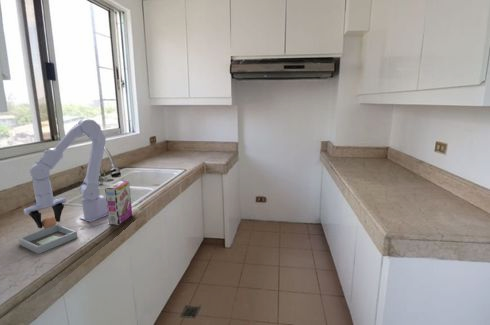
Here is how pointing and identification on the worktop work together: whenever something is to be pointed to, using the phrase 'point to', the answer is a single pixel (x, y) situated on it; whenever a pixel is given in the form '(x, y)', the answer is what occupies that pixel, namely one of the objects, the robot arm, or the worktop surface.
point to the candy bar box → (118, 202)
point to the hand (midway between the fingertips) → (49, 224)
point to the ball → (48, 222)
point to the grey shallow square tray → (49, 241)
